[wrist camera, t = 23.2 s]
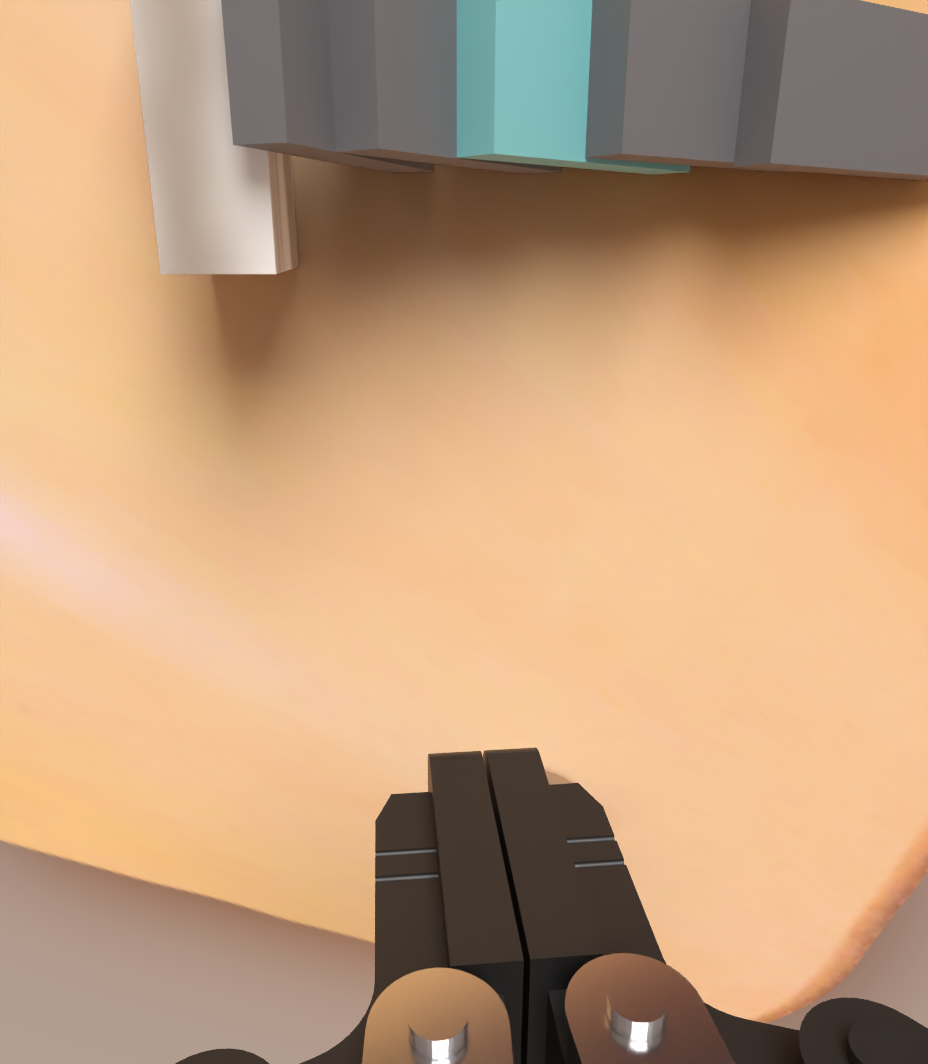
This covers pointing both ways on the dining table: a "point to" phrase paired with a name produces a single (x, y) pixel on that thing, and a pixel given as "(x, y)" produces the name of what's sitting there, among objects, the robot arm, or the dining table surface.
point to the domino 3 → (529, 85)
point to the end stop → (206, 151)
